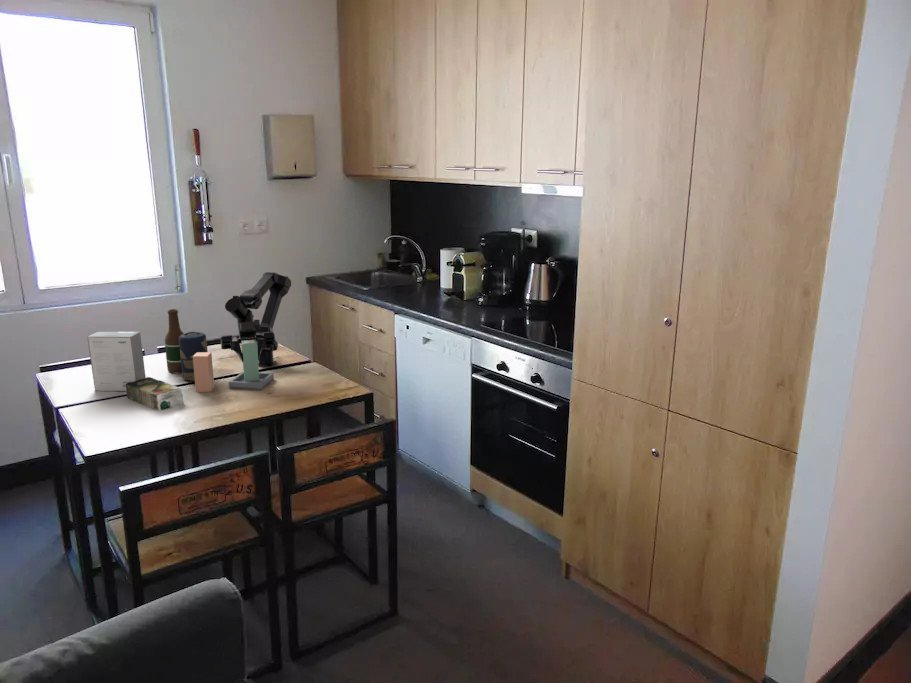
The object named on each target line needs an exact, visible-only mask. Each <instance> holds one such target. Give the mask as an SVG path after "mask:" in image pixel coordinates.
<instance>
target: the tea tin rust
mask: <svg viewBox="0 0 911 683" xmlns="http://www.w3.org/2000/svg"><path fill="white" fill-rule="evenodd" d="M193 366H194V377H195V381H194V384H195V385H194V386H195V393H196V392H199V393H200V392H201V393H203V392H204V393H205V392H207V393H208V392H209V393H210V392H212V390H214V388H215V380H214V370H213V369H214V368H213V367H214V366H213V356H212V352H211V351H208V352H197V353H196V354H195V355H194V356H193Z"/></svg>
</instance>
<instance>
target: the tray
mask: <svg viewBox="0 0 911 683" xmlns="http://www.w3.org/2000/svg"><path fill="white" fill-rule="evenodd" d="M274 377H275V376H274V373H272V372H259V380H256V381H246V382H245V379H244V371H241V372H240V373H239V374H237V375H236V376H234V377H233V378H232V379H230V380H229V381H228V389H233V390H248V391H263V389H265V388H266V387H267V386H269V384H270V383H272V382H273V381H274V379H275V378H274Z"/></svg>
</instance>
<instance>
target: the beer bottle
mask: <svg viewBox="0 0 911 683" xmlns="http://www.w3.org/2000/svg"><path fill="white" fill-rule="evenodd" d="M178 313H179V310H178V309H174V308H173V309H169V310H167V315H168V332H167V333H166V335H165V338H164V350H165V357H166V358H165V359H166V367H167V372H168V373H171V374H182V366H181V355H180V345H179V336H180V335H182V334H185V333H184V332H183V331H182V330H181V327H180V326H181V325H180V321H179V315H178Z"/></svg>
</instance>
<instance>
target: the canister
mask: <svg viewBox="0 0 911 683" xmlns="http://www.w3.org/2000/svg"><path fill="white" fill-rule="evenodd" d="M179 345H180V355H181V366H182V373H181V374H182V378H183V380H186V381H189V382H195V377H194V366H193V356H194V355H195V354H196V353H197V352H209V351H208V340H207V334H205V333H204V332H200V331H188V332H185V333H184V334H182V335H180V336H179Z"/></svg>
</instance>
